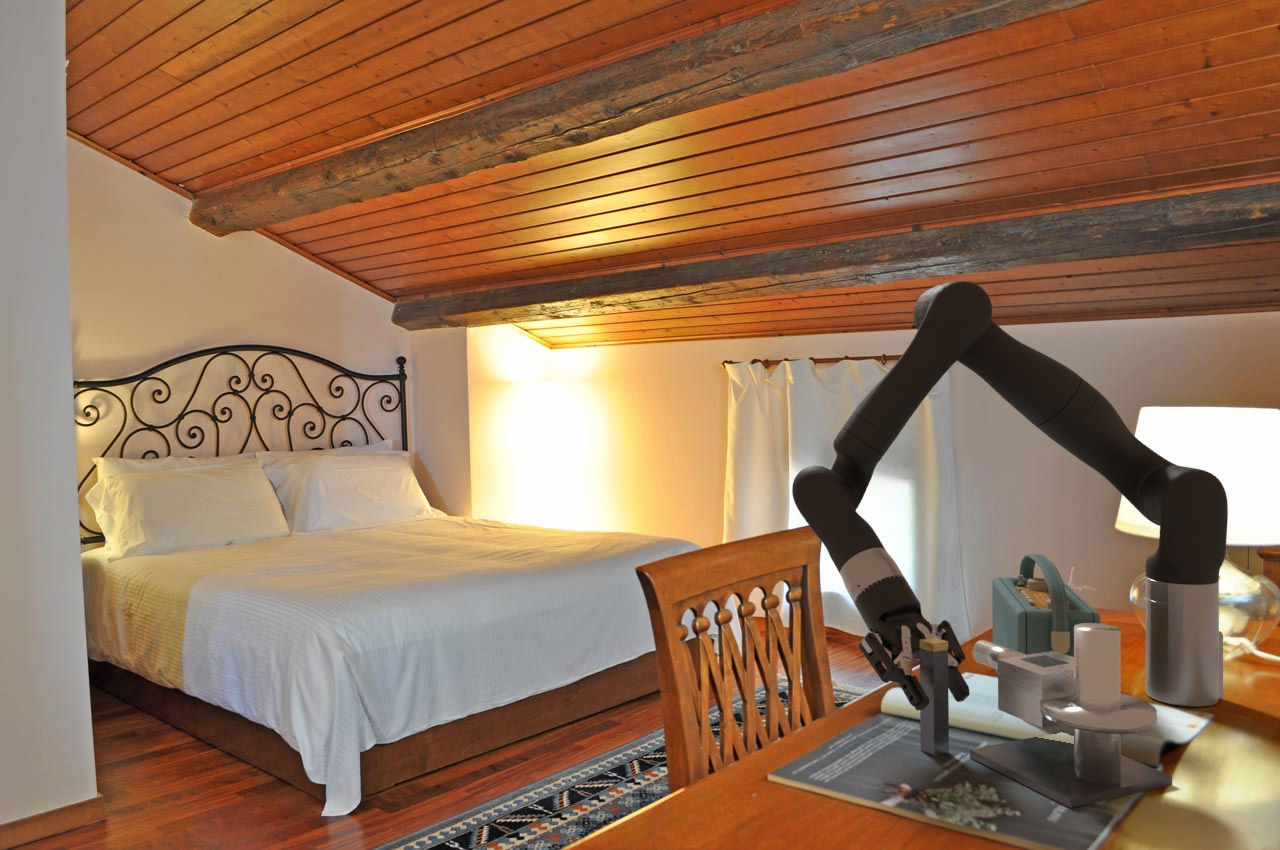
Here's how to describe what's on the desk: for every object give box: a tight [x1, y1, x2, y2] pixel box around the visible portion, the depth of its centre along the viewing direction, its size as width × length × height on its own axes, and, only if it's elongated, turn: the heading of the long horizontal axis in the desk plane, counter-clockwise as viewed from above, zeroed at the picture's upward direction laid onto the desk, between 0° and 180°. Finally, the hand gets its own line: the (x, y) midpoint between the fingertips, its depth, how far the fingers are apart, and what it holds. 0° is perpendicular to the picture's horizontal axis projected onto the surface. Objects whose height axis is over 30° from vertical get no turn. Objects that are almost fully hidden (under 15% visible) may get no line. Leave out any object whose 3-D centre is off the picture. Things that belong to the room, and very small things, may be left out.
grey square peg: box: [919, 637, 950, 757], centre depth 124 cm, size 2×2×14 cm
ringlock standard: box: [969, 623, 1173, 809], centre depth 119 cm, size 15×25×18 cm, turn 22°
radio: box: [991, 553, 1101, 676], centre depth 146 cm, size 26×11×20 cm, turn 168°
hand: (944, 702), depth 122 cm, fingers open, 6 cm apart
